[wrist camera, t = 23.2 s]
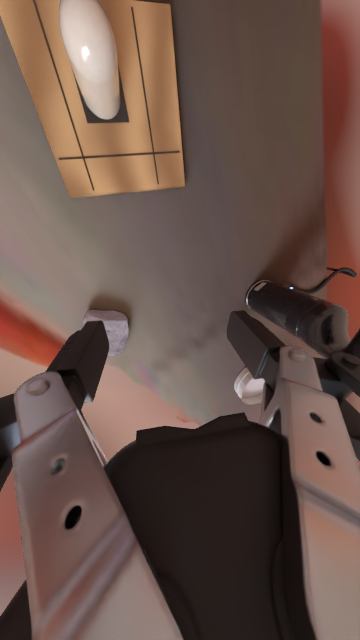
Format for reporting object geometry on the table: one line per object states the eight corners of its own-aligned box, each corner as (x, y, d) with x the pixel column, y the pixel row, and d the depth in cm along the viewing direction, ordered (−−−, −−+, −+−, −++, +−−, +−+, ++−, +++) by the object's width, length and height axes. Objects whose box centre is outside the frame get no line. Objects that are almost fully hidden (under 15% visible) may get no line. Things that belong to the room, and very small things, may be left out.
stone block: (128, 308, 41) (82, 307, 36) (132, 318, 37) (82, 317, 32) (123, 345, 46) (83, 348, 41) (126, 356, 42) (83, 361, 37)
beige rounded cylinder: (113, 60, 21) (103, -40, 13) (125, 119, 23) (122, 64, 16) (71, 58, 20) (34, -50, 12) (88, 120, 23) (66, 62, 15)
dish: (225, 394, 68) (231, 404, 64) (252, 354, 60) (261, 363, 56) (260, 395, 77) (267, 404, 73) (287, 361, 69) (297, 369, 65)
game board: (167, 17, 21) (170, 2, 20) (182, 187, 30) (185, 185, 29) (-2, 2, 18) (-13, -17, 17) (72, 198, 27) (69, 196, 26)
